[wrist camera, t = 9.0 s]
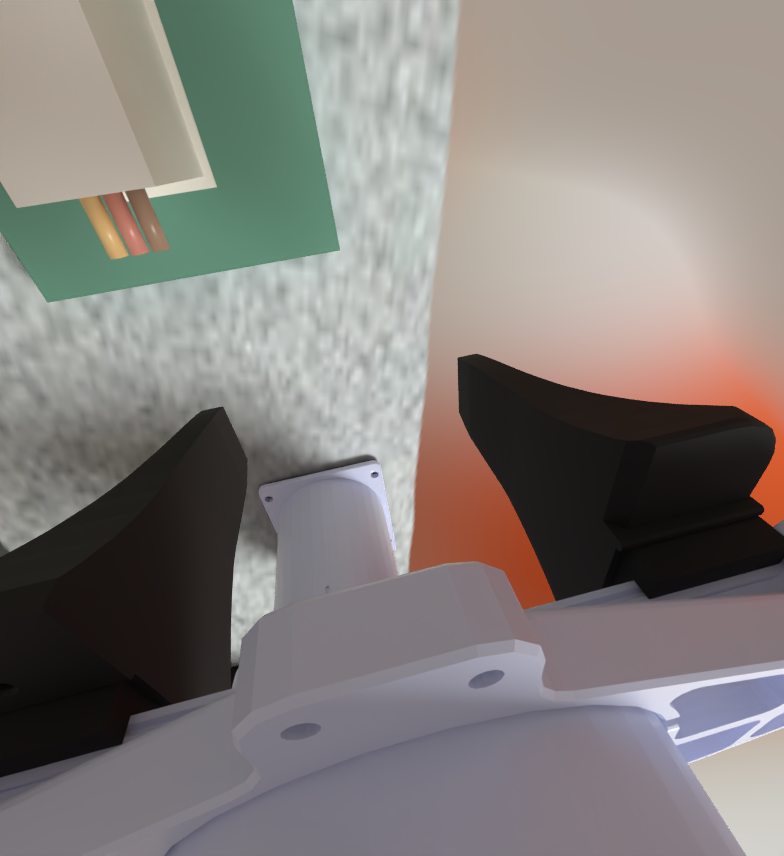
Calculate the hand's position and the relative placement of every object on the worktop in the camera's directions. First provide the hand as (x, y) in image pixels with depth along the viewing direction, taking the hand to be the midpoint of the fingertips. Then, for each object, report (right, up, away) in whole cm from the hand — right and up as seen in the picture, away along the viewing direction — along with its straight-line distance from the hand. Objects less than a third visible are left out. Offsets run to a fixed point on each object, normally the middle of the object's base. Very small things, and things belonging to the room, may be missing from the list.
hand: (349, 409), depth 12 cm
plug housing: (-7, +10, +1) cm, 13 cm away
